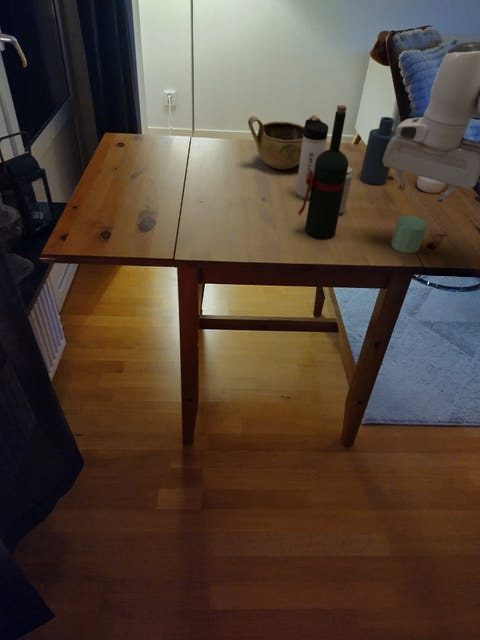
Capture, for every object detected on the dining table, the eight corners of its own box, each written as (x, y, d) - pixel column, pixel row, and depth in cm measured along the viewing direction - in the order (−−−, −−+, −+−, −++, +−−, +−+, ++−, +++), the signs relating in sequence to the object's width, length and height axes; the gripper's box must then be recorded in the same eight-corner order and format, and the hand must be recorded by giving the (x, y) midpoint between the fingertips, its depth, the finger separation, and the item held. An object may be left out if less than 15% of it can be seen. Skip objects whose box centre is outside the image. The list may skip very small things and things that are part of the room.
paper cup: (422, 244, 114) (430, 221, 110) (414, 256, 110) (422, 232, 105) (396, 236, 116) (403, 212, 112) (387, 247, 112) (394, 223, 108)
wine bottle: (293, 223, 119) (309, 100, 99) (331, 223, 120) (355, 101, 100) (298, 239, 113) (316, 111, 93) (338, 239, 114) (365, 112, 94)
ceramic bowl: (253, 178, 138) (256, 127, 129) (240, 156, 151) (242, 108, 141) (322, 174, 143) (331, 124, 133) (304, 153, 155) (311, 106, 145)
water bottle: (389, 178, 142) (405, 118, 130) (380, 187, 137) (397, 125, 125) (365, 172, 145) (378, 112, 134) (355, 180, 140) (369, 119, 128)
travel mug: (306, 188, 135) (316, 117, 122) (322, 196, 131) (334, 124, 118) (290, 193, 132) (299, 121, 119) (305, 202, 128) (316, 128, 115)
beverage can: (321, 203, 128) (328, 161, 120) (344, 206, 127) (353, 164, 119) (320, 214, 123) (327, 171, 115) (344, 217, 123) (353, 174, 115)
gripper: (496, 140, 93) (470, 203, 102) (398, 118, 101) (382, 178, 110) (491, 150, 89) (464, 214, 98) (389, 125, 97) (373, 187, 106)
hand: (420, 195), depth 104 cm, fingers open, 8 cm apart
